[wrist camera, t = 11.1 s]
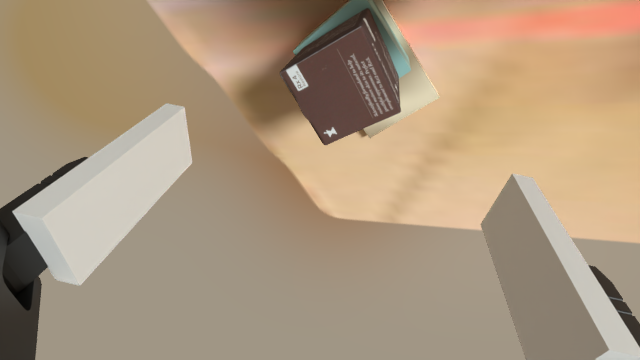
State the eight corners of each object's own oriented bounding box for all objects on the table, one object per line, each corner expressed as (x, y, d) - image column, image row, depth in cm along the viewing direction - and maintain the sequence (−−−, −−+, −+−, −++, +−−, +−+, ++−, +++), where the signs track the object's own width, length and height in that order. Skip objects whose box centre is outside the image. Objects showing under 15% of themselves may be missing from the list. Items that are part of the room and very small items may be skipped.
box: (400, 77, 26) (403, 114, 20) (336, 108, 29) (323, 148, 23) (368, 5, 23) (362, 23, 18) (301, 45, 26) (276, 73, 20)
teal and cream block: (301, 41, 31) (288, 55, 27) (371, -19, 27) (368, -14, 23) (370, 133, 35) (368, 157, 31) (438, 93, 31) (445, 114, 27)
